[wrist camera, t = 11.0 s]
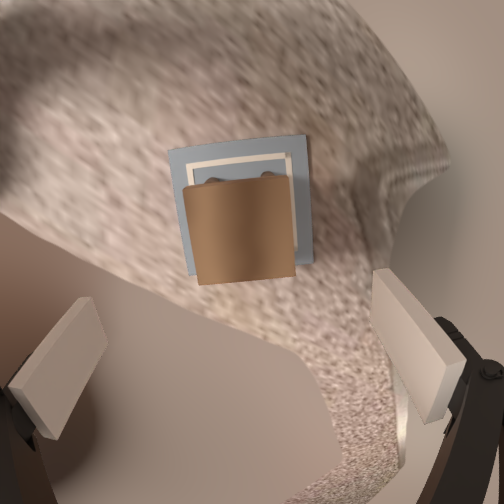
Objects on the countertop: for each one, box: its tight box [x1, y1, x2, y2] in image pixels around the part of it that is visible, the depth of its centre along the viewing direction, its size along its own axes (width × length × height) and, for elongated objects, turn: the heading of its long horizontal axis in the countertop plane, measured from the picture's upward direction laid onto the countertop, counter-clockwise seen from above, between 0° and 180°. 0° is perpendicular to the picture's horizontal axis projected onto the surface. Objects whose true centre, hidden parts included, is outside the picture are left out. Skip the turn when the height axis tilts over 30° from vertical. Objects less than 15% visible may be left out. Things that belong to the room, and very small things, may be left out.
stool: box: [182, 171, 296, 285], centre depth 29 cm, size 8×8×9 cm
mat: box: [168, 135, 314, 276], centre depth 33 cm, size 14×14×1 cm
